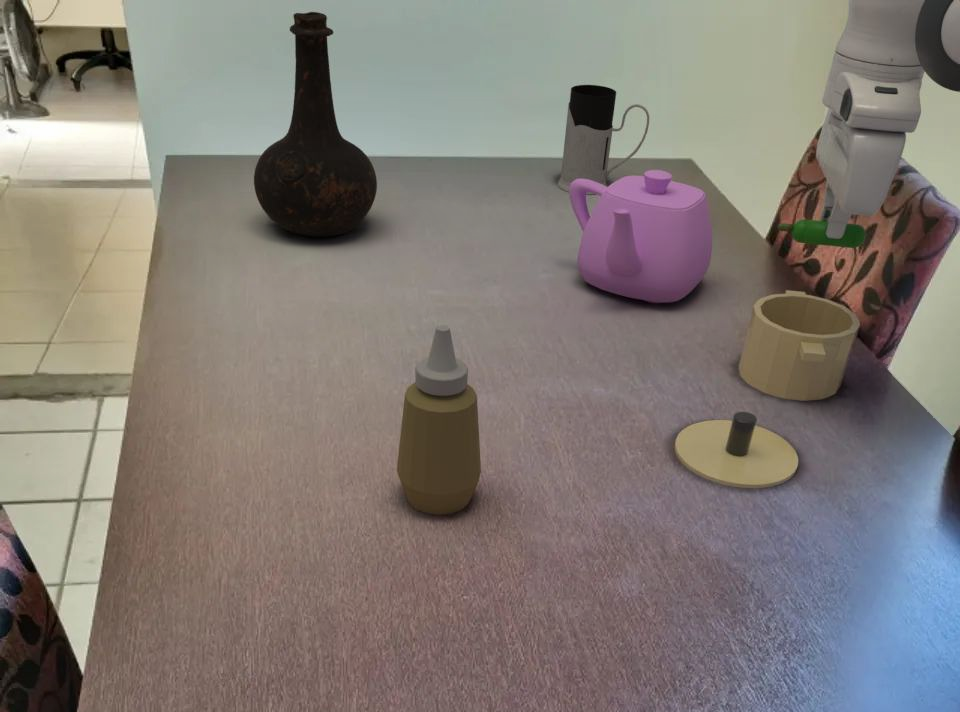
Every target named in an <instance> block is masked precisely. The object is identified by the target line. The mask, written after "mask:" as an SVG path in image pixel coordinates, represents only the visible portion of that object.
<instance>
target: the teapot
mask: <svg viewBox="0 0 960 712" xmlns="http://www.w3.org/2000/svg"><path fill="white" fill-rule="evenodd" d="M672 178H673V175H672V174H671V173H669V172H668V171H665V170H660V169H649V170H646V171H644V172H643V175H626V176H623V177H621V178H618V179H617V180H615V181H614V182H612V183H610V185H607V186H604V185H602V184H600V183H597V182H595V181H592V180H588V179H582V178H581V179H576V180H574V181H573V182H572V183H571V185H570V188H569V192H568V193H569V201H570V204H571V207H572V208H571V209H572V210H573V213H574V215H575V217H576V219H577V222H578V224H579V226H580V228H581V230H582V232H583V233H582V236H581V240H580V244H579V248H578V252H577V253H578V254H577V265H578V269H579V271H580V273H581V274H580V275H581V276H582V278H583V280H584V281H585V282H586V283H588V284H589V285H591V286H593V287H596V288H598V289H599V290H600V291H601V290H602V291H603V292H604V291H605V292H609V293H612V294H614V295H619V296H623V297H626V298H631V299H636V300H642V301H645V302H648V303H650V304H662V303H675V302H678V301H680V300H682V299H683V298H685V297H686V296H688V295H689V294H690V293H691V292H692V291H693V290H694V289H695V288H696V287H697V286H698V284H699V283H700V282H701V280H702V279H703V278H704V276H705V275H706V274H707V272H708V270H709V267H710V264H711V259H712V253H713V252H712V251H713V228H712V220H711V213H710V208H709V201H708V199H707V195H706V193H705V191H703V190H702V189H700V188H697V187H695V186H692V185H689V184H685V183H681V182H677V181H674V180H672ZM587 192H591V193H595V194H594V195H597V196H599V198H598V201H597V202H596V204H595V206H594V208H593V210H592V212H591V214H590V213H589V209H588V204H587V195H586V193H587Z"/></svg>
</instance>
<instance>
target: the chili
mask: <svg viewBox="0 0 960 712" xmlns="http://www.w3.org/2000/svg"><path fill="white" fill-rule="evenodd" d="M826 223H827V221H820V220H817V219H806V218H805V219H803V218H802V219H800V220H797V221H796V222H795V223H784V222H781V223H778V225H777V230H778V231H779V232H786V233H791V237H792V239H793V240H794V241H795V242H796V243H800V244H806V245H807V244H808V245H819V246H829V247H839V248H848V249H855V248H859V247H860V246H861V245H863V244H864V243H865V240H866V237H867V232H866V231H867V230H866V229H865V228H864V226H862V225H860V224H857V223H849V222H847V225H846V228H845V231H844V235H843V236H842V237H841V238H839V239H836V238H828V237H827V235H826V232H825V226H826Z"/></svg>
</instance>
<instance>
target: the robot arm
mask: <svg viewBox="0 0 960 712" xmlns="http://www.w3.org/2000/svg"><path fill="white" fill-rule="evenodd" d="M925 74H926V75H927V76H928V77H929V78H930V79H931V80H932V81H933V82H934V83H935V84H937V85H938V86H940V87H942V88H944V89H947V90H948V91H953V92H957V93H960V0H848V13H847V20H846V23H845V27H844V29H843V32H842V34H841V35H840V38H839V39H838V41H837V43H836V46H835V50H834V53H833V57H832V61H831V65H830V68H829V71H828V76H827V79H826V83H825V88H824V91H823V95H822V100H821V102H822V105H824V106H825V107H827V108H828V109H827V111H826V115H825V117H824V121H823V124H822V128H821V130H820V134H819V137H818V141H817V146H816V152H815V157H816V160H817V163H818V164H819V167H820V168H821V171H822V173H823V175H824V177H825V179H826V181H825V186H824V193H823V194H824V195H823V204H822V209H821V211H820V216H819V221H827V223H826V226H825V232H826V235H827V237H828V238H836V239H839V238H841V237H842V236H843V235H844V231H845V228H846V225H847V223H849V221H850V219H851V217H852V216H862V217H863V216H864V217H873V216H876V215H877V213H878V212H879V210H880V209H881V207H882V206H883V204H884V202H885V200H886V198H887V196H888V193H889V190H890V188H891V185H892V182H893V181H894V178H895V175H896V172H897V169H898V168H899V167H898V166H899V164H900V162H901V158H902V156H903V153H904V150H905V145H906V141H907V134H909V133H910V134H912V133H915V131H916V129H917V127H918V124H919V121H920V118H921V114H922V105H921V96H920V93H921V89H922V85H923V78H924V75H925Z"/></svg>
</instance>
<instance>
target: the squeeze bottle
mask: <svg viewBox="0 0 960 712" xmlns="http://www.w3.org/2000/svg"><path fill="white" fill-rule="evenodd" d="M433 335H434V336H433V339H432V343H431V347H430V351H429V355H428V357H425V358H422V359H420V360H419V361H418V362H417V363H416V366H415V367H414V368H415V369H414V371H415V373H414V376H415V380H414V381H415V382H413V383H412V384H410V385H409V386H408V387H407V388H406V391H405V393H404V398H403V399H404V400H403V409H402V416H401V417H402V418H401V427H400V437H399V445H398V456H397V462H396V463H397V464H396V473H397V476H398V479H399V482H400V483H401V486H402V489H403V491H404V495H405V497H406V499H407V503H408V504H409V505H410V506H411V507H412V508H414V509H415V510H417V511H419V512H422V513H424V514H426V515H427V514H428V515H434V516H435V515H436V516H443V515H453V514H454V513H457V512H460V511H462V510H463V509H464V508H466V507H467V506H468V505H469V503H470V501H471V498H472V496H473V494H474V492H475V490H476V487H477V485H478V483H479V481H480V477H481V474H482V464H481V463H482V461H481V447H480V427H479V426H480V425H479V408H478V407H479V406H478V395H477V393H476V391H475V389H474V387H472V386H471V385H470V384H469V383H468V381H469V380H468V378H469V377H468V376H469V368H468V366H467V364H466V363H465V362H464V361H462V360H460V359H459V358H456V354H455V349H454V344H453V338H452V333H451V328H450V326H448V325H446V324H439V325H437V326H435V331H434V334H433Z"/></svg>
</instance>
